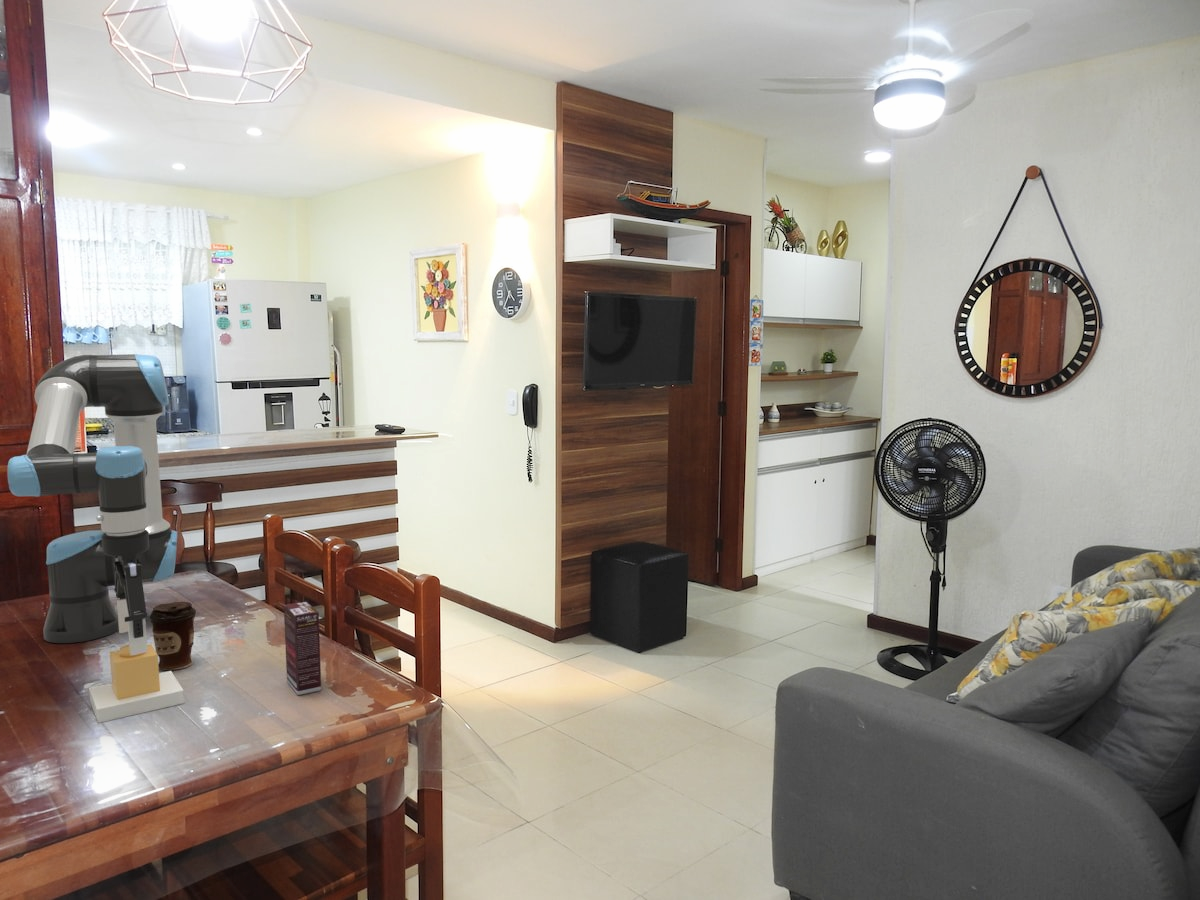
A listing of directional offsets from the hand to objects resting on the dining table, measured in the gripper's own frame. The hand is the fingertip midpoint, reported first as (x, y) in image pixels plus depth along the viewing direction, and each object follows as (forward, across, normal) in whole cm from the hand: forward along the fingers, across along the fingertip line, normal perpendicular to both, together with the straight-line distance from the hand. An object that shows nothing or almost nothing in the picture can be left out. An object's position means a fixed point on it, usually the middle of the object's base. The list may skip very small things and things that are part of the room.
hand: (133, 642), depth 157 cm
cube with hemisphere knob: (+9, +1, 0) cm, 9 cm away
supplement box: (+12, +12, +28) cm, 32 cm away
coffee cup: (+12, -15, +9) cm, 21 cm away
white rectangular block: (+12, +1, 0) cm, 12 cm away
